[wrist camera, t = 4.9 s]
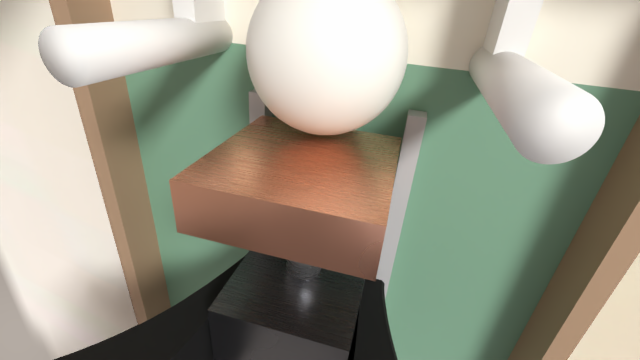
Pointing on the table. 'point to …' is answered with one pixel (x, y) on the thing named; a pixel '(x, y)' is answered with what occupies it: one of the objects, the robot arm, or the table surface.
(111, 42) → the pitch
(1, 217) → the table surface
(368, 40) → the ball
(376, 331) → the robot arm
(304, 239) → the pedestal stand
